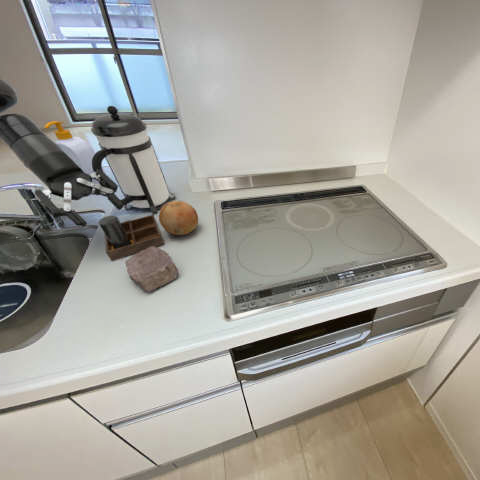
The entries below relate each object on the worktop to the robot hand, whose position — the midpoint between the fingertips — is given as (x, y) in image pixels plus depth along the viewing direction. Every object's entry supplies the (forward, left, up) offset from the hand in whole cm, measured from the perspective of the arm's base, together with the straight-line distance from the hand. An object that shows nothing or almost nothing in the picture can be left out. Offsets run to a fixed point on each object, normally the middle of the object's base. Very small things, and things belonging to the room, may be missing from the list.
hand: (104, 216), depth 63 cm
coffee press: (+9, +20, -11) cm, 24 cm away
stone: (+5, -14, -11) cm, 19 cm away
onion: (+15, 0, -11) cm, 19 cm away
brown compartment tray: (+3, +2, -11) cm, 11 cm away
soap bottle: (-6, +41, -11) cm, 42 cm away
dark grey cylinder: (+1, -1, -10) cm, 10 cm away
